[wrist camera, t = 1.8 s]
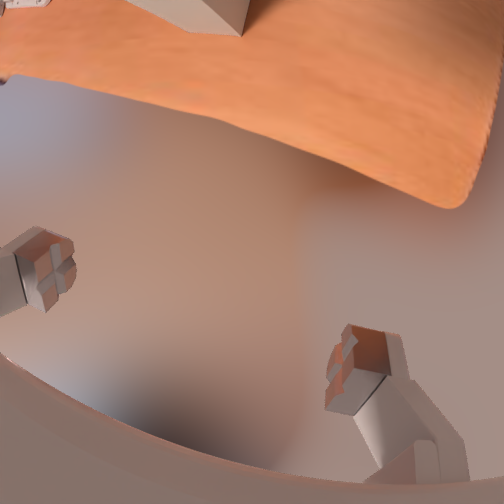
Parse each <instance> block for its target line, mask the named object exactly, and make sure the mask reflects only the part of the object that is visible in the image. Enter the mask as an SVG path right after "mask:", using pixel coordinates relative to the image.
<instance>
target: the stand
mask: <svg viewBox="0 0 504 504" xmlns="http://www.w3.org/2000/svg"><path fill="white" fill-rule="evenodd" d="M126 1H128V2H130V3H132V4H134V5H136V6H138V7H141V8H143V9H145V10H147V11H149V12H151V13H153V14H155V15H157V16H159V17H161V18H163V19H164V20H166V21H168V22H170V23H172V24H174V25H176V26H178V27H179V28H181V29H183V30H185V31H187V32H188V33H206V34H220V35H231V36H240V37H241V36H242V32H243V27H244V23H245V19H246V15H247V11H248V7H249V3H250V0H126Z"/></svg>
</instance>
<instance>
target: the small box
mask: <svg viewBox="0 0 504 504" xmlns="http://www.w3.org/2000/svg"><path fill="white" fill-rule="evenodd" d="M4 4H5V2H3V0H0V17H2V15H3V9H4Z"/></svg>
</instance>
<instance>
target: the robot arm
mask: <svg viewBox="0 0 504 504" xmlns="http://www.w3.org/2000/svg"><path fill="white" fill-rule="evenodd" d="M50 1H51V0H3V2H6V8H9V9H14V8H29V7H45V6H46V5H48V3H49V2H50ZM73 253H74V245H73V242H72V241H71V240H70V239H69V238H67V237H64V236H62V235H59V234H56V233H54V232H52V231H49V230H46V229H44V228H41V227H38V226H36V227H32V228H30V229H29V230H27V231H26V232H24V233H23V234H21V235H20V236H19V237H17V238H16V239H14V240H13V241H11V242H10V243H8V244H7V245H5V246H4V247H3V248H1V247H0V317H2V316H4V315H6V314H9V313H11V312H12V311H15V310H17V309H19V308H21V307H24V306H26V305H27V304H29V305H31V306H33V307H35V308H37V309H39V310H41V311H43V312H45V313H46V312H47V311H48V310H49V309H50V308H51V307H52V306H53V305H54V304H55V303H56V302H57V301H58V298H59V294H62V293H65V292H67V291H68V290H69V289H70V288H71V287H72V285H73V283H74V281H75V279H76V272H77V269H76V263H75V262H74V260H73V258H72V255H73ZM341 336H342V342H341V343H339V344H337V345H336V346H335V347H334V349H333V351H332V353H331V356H330V359H329V362H328V366H327V375H326V378H327V379H328V381H329V382H330V384H329V386H328V388H327V389H326V396H325V410H327V411H331V412H336V413H341V414H346V415H351V416H354V420H355V422H356V424H357V426H358V428H359V430H360V431H361V433H362V435H363V437H364V439H365V441H366V443H367V445H368V447H369V449H370V451H371V452H372V454H373V457H374V459H375V461H376V463H377V464H378V466H379V468H380V470H378V471H377V472H376V473H374V474H373V475H371V476H370V477H369V478H367V479H366V480H365V481H363V483H353V482H341V481H332V480H324V479H316V478H309V477H303V476H296V475H291V474H285V473H280V472H275V471H270V470H265V469H261V468H256V467H252V466H247V465H244V464H240V463H235V462H232V461H228V460H225V459H221V458H217V457H214V456H211V455H207V454H204V453H200V452H198V451H195V450H192V449H188V448H186V447H182V446H180V445H177V444H174V443H171V442H169V441H166V440H163V439H160V438H158V437H155V436H153V435H150V434H148V433H145V432H143V431H140V430H138V429H136V428H133V427H130V426H129V425H126V424H124V423H122V422H120V421H117V420H115V419H113V418H111V417H109V416H107V415H105V414H102V413H100V412H98V411H96V410H94V409H92V408H90V407H88V406H86V405H85V404H83V403H81V402H79V401H77V400H75V399H73V398H71V397H70V396H68V395H66V394H64V393H62V392H61V391H59V390H57V389H55V388H54V387H52V386H50V385H49V384H47V383H45V382H44V381H42V380H40V379H39V378H37V377H35V376H34V375H32V374H31V373H29V372H28V371H26V370H25V369H23V368H22V367H20V366H19V365H17V364H16V363H14V362H13V361H11V360H10V359H8V358H7V357H6V356H4V355H3V354H1V353H0V504H504V476H502V477H495V478H489V479H482V480H474V481H470V476H469V469H468V463H467V457H466V451H465V446H464V441H463V439H462V438H461V436H460V435H459V434H458V433H457V432H456V430H455V429H454V428H453V426H452V425H451V424H450V423H449V421H448V420H447V419H446V418H445V416H444V415H443V414H442V413H441V412H440V410H439V409H438V408H437V407H436V405H435V404H434V403H433V402H432V401H431V399H430V398H429V397H428V396H427V395H426V393H425V392H424V391H423V390H422V388H421V387H420V386H419V385H418V384H417V383H416V381H415V380H410V376H409V371H408V366H407V361H406V357H405V352H404V348H403V343H402V339H401V337H400V335H398V334H394V333H389V332H384V331H382V332H381V331H377V330H373V329H369V328H364V327H361V326H356V325H352V324H348V325H347V326H346V327H345V329H344V330H343V332H342V334H341Z"/></svg>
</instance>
